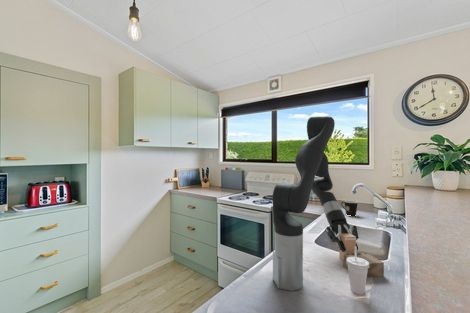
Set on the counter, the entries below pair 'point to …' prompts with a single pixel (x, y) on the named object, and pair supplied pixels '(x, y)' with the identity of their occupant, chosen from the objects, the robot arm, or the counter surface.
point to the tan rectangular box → (348, 244)
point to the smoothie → (357, 273)
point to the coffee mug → (350, 207)
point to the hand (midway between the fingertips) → (350, 250)
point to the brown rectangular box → (374, 264)
